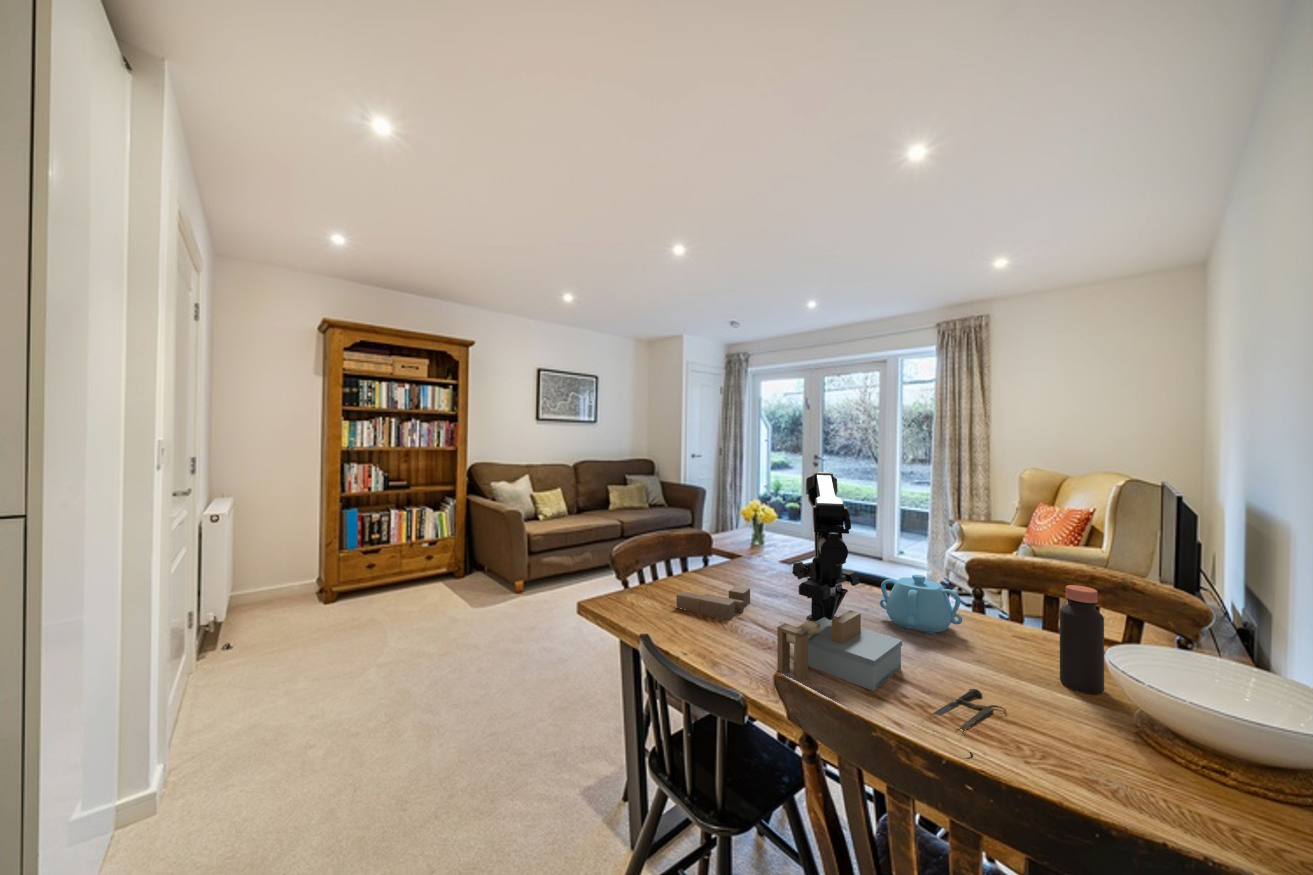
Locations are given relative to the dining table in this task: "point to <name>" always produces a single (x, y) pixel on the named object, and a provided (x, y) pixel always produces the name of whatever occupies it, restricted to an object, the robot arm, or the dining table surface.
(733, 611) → the wooden block set
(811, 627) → the wooden key
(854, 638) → the lid
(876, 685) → the toolbox
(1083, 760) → the dining table surface
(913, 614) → the decorative pot
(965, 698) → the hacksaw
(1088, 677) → the bottle
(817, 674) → the dining table surface
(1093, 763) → the dining table surface
